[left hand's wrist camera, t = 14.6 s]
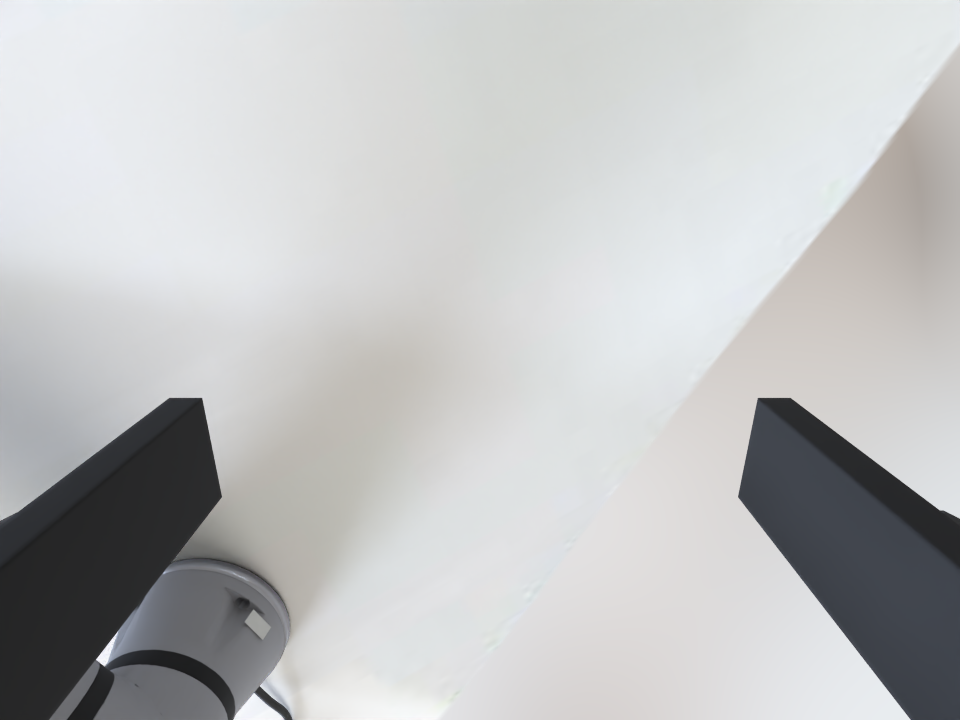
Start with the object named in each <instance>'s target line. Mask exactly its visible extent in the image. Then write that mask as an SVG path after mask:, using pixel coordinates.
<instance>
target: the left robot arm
mask: <svg viewBox="0 0 960 720" xmlns="http://www.w3.org/2000/svg"><path fill="white" fill-rule="evenodd" d="M738 497H739V499H740V500H741V501H742V503H743V504H744V505H745V507H746V508H747V509H748V510H749V512H750V513H751V514H752V515H753V517H754V518H755V519H756V521H757V522H758V523H759V525H760V526H761V527H762V528H763V530H764V531H765V532H766V534H767V535H768V536H769V537H770V539H771V540H772V541H773V543H774V544H775V545H776V547H777V548H778V549H779V550H780V552H781V553H782V554H783V556H784V557H785V558H786V559H787V561H788V562H789V563H790V564H791V566H792V567H793V568H794V570H795V571H796V572H797V574H798V575H799V576H800V577H801V579H802V580H803V581H804V583H805V584H806V585H807V586H808V588H809V589H810V590H811V592H812V593H813V594H814V595H815V597H816V598H817V599H818V601H819V602H820V603H821V605H822V606H823V607H824V608H825V610H826V611H827V612H828V614H829V615H830V616H831V617H832V619H833V620H834V621H835V623H836V624H837V625H838V626H839V628H840V629H841V630H842V632H843V633H844V634H845V635H846V637H847V638H848V639H849V641H850V642H851V643H852V644H853V646H854V647H855V648H856V650H857V651H858V652H859V653H860V655H861V656H862V657H863V659H864V660H865V661H866V663H867V664H868V665H869V666H870V668H871V669H872V670H873V672H874V673H875V674H876V675H877V677H878V678H879V679H880V681H881V682H882V683H883V684H884V686H885V687H886V688H887V690H888V691H889V692H890V693H891V695H892V696H893V697H894V699H895V700H896V701H897V703H898V704H899V705H900V706H901V708H902V709H903V710H904V711H905V713H906V714H907V715H908V717H909V718H910V719H911V720H960V519H959V518H957V517H955V516H953V515H951V514H949V513H947V512H945V511H940V510H938V509H937V508H936V507H934V506H933V505H932V504H930V503H929V502H928V501H926V500H925V499H924V498H922V497H921V496H920V495H918V494H917V493H916V492H914V491H913V490H912V489H910V488H909V487H908V486H906V485H905V484H904V483H902V482H901V481H900V480H898V479H897V478H896V477H895V476H893V475H892V474H891V473H889V472H888V471H887V470H885V469H884V468H883V467H881V466H880V465H879V464H877V463H876V462H875V461H873V460H872V459H871V458H869V457H868V456H867V455H865V454H864V453H863V452H861V451H860V450H859V449H857V448H856V447H855V446H853V445H852V444H851V443H849V442H848V441H847V440H845V439H844V438H843V437H841V436H840V435H839V434H837V433H836V432H835V431H833V430H832V429H831V428H829V427H828V426H827V425H825V424H824V423H823V422H822V421H820V420H819V419H817V418H816V417H815V416H814V415H812V414H811V413H810V412H808V411H807V410H806V409H804V408H803V407H802V406H800V405H799V404H798V403H796V402H795V401H794V400H792V399H791V398H758V400H757V406H756V410H755V415H754V420H753V425H752V430H751V435H750V440H749V446H748V450H747V455H746V460H745V465H744V470H743V475H742V480H741V485H740V490H739V495H738ZM221 498H222V495H221V490H220V485H219V480H218V475H217V470H216V465H215V460H214V455H213V450H212V445H211V440H210V435H209V430H208V425H207V420H206V415H205V410H204V405H203V400H202V398H169V399H168V400H166V401H165V402H164V403H162V404H161V405H160V406H158V407H157V408H156V409H154V410H153V411H152V412H150V413H149V414H148V415H146V416H145V417H144V418H142V419H141V420H140V421H138V422H137V423H136V424H134V425H133V426H132V427H131V428H129V429H128V430H127V431H125V432H124V433H123V434H121V435H120V436H119V437H117V438H116V439H115V440H113V441H112V442H111V443H109V444H108V445H107V446H105V447H104V448H103V449H101V450H100V451H99V452H97V453H96V454H95V455H93V456H92V457H91V458H89V459H88V460H87V461H85V462H84V463H83V464H81V465H80V466H79V467H77V468H76V469H75V470H73V471H72V472H71V473H69V474H68V475H67V476H65V477H64V478H63V479H61V480H60V481H59V482H58V483H56V484H55V485H54V486H52V487H51V488H50V489H48V490H47V491H46V492H44V493H43V494H42V495H40V496H39V497H38V498H36V499H35V500H34V501H32V502H31V503H30V504H28V505H27V506H26V507H24V508H23V509H22V510H20V511H19V512H18V513H15V514H13V515H11V516H9V517H7V518H5V519H3V520H1V521H0V720H233V719H234V717H235V715H236V713H237V712H238V711H239V710H240V709H241V707H242V706H243V705H244V704H245V703H246V702H247V700H248V699H249V698H250V697H251V696H252V694H253V693H255V694H256V695H257V696H258V697H259V698H260V699H261V700H263V701H264V702H265V703H266V704H267V705H268V706H270V707H271V708H272V709H274V710H275V711H277V712H278V713H279V714H280V715H281V716H282V717H283V718H284V720H292V717H291V715H290V713H289V712H288V710H287V709H286V708H285V707H284V706H282V705H281V704H280V703H278V702H277V701H276V700H274V699H273V698H272V697H271V696H269V695H268V694H267V693H266V692H265V691H264V690H263V689H262V688H261V687H260V685H261V684H262V682H263V681H264V680H265V678H266V677H268V676H269V674H270V673H271V672H272V671H273V670H274V668H275V667H276V665H277V663H278V662H279V660H280V658H281V656H282V654H283V652H284V649H285V647H286V644H287V642H288V638H289V634H290V620H289V616H288V613H287V610H286V607H285V605H284V603H283V602H282V600H281V598H280V597H279V596H278V594H277V593H276V592H275V591H274V590H273V589H272V588H271V587H270V586H269V585H268V584H267V583H266V582H265V581H263V580H262V579H261V578H259V577H258V576H256V575H255V574H253V573H251V572H250V571H248V570H246V569H243V568H241V567H239V566H236V565H233V564H230V563H227V562H223V561H218V560H211V559H188V560H182V561H177V562H174V563H171V562H172V561H173V559H174V558H175V557H176V556H177V554H178V553H179V552H180V550H181V549H182V548H183V546H184V545H185V544H186V543H187V541H188V540H189V539H190V537H191V536H192V535H193V534H194V532H195V531H196V530H197V528H198V527H199V526H200V525H201V523H202V522H203V521H204V519H205V518H206V517H207V516H208V514H209V513H210V512H211V510H212V509H213V508H214V507H215V505H216V504H217V503H218V501H219V500H220V499H221ZM170 563H171V564H170ZM118 630H119V631H118ZM117 632H118V634H117V637H116V640H115V643H114V645H113V648H112V651H111V654H110V657H109V660H108V663H107V664H106V666H105V667H104V666H103V665H102V664H100V663H99V662H98V661H97V660H96V659H97V657H98V656H99V655H100V654H101V652H102V651H103V650H104V648H105V647H106V646H107V644H108V643H109V642H110V641H111V639H112V638H113V637H114V635H115V634H116V633H117Z"/></svg>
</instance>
